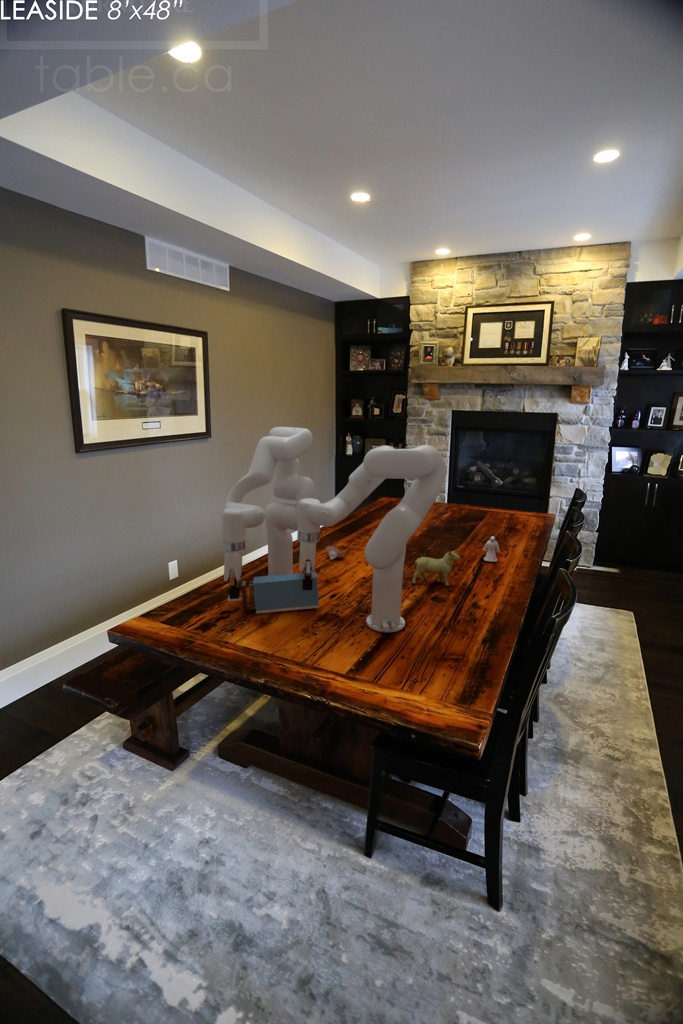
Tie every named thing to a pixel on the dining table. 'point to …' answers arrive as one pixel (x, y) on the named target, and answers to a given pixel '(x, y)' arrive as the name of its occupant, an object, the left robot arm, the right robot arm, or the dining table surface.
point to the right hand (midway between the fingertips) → (307, 585)
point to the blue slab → (284, 593)
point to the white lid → (333, 552)
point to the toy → (435, 566)
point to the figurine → (491, 550)
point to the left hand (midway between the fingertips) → (234, 597)
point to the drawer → (246, 596)
